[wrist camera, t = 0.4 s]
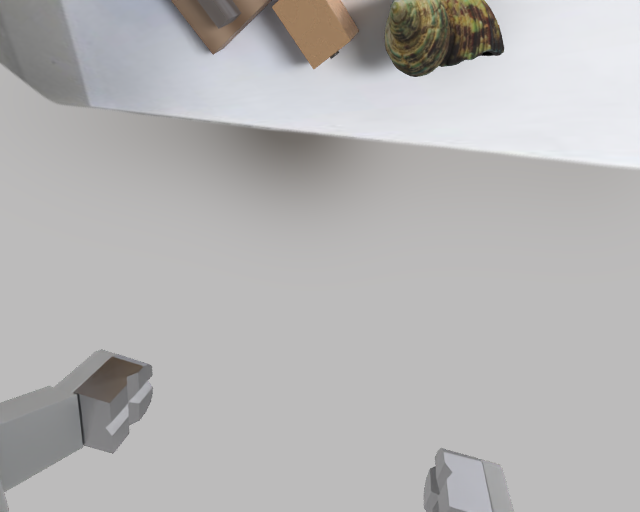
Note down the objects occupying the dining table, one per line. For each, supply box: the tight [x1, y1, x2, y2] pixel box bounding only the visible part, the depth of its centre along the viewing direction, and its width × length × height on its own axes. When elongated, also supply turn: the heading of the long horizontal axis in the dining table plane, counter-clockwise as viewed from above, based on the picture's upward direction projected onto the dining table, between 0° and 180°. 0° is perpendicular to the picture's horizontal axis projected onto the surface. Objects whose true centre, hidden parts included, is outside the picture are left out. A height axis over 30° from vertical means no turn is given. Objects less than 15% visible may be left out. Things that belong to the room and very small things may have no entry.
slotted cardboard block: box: [272, 0, 359, 69], centre depth 47 cm, size 6×8×5 cm
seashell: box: [385, 0, 504, 77], centre depth 43 cm, size 11×11×10 cm
